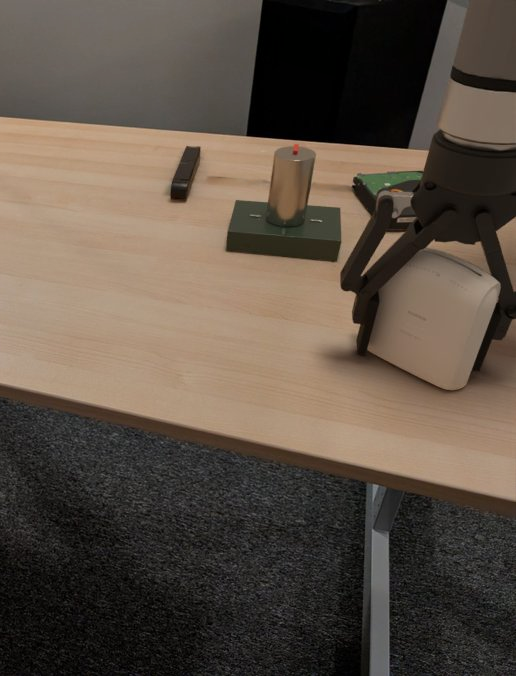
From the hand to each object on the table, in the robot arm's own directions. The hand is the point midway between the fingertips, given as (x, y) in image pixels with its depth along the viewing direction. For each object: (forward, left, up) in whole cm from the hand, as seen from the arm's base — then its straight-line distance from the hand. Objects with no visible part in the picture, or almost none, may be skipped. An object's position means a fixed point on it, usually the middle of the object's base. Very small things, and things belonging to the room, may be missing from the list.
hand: (415, 355), depth 65 cm
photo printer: (0, 0, -1) cm, 1 cm away
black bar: (+30, -43, -1) cm, 53 cm away
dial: (+14, -25, +2) cm, 29 cm away
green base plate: (+14, -25, -1) cm, 29 cm away
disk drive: (-2, -38, -1) cm, 38 cm away
